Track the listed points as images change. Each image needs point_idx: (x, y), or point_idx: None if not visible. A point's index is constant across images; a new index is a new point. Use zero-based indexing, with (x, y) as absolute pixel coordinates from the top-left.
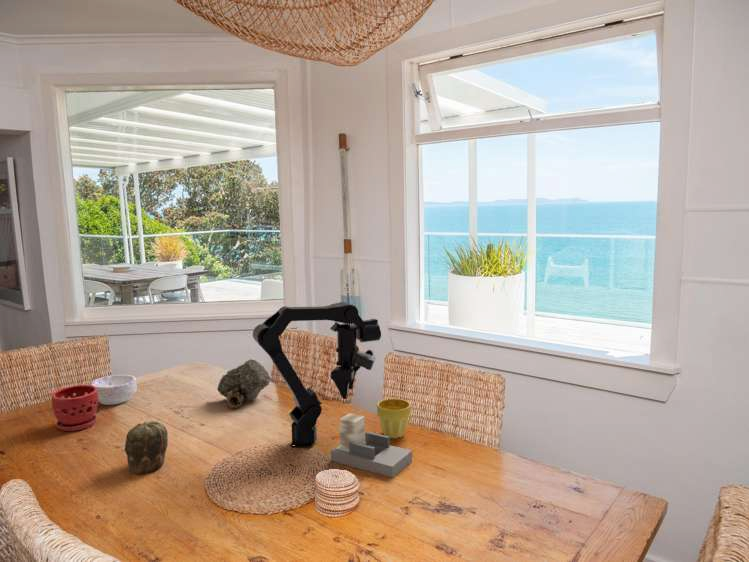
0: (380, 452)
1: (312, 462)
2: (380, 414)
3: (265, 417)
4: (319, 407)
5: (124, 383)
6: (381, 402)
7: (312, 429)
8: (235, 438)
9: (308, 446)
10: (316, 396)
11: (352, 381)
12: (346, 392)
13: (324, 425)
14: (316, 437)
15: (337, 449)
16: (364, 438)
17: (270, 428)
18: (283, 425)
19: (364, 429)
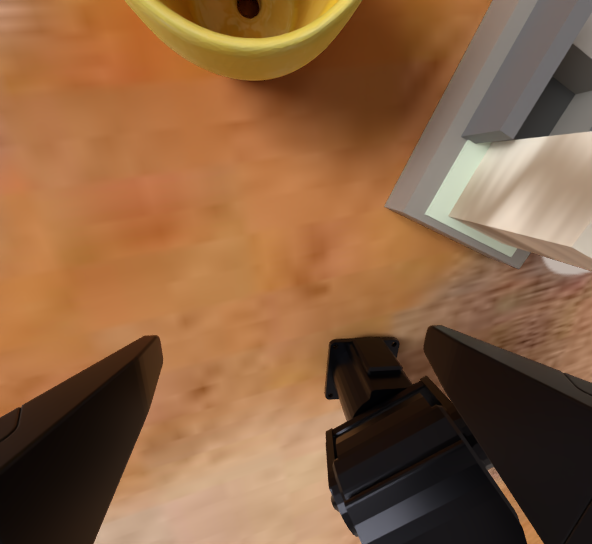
0: (584, 50)
1: (489, 306)
2: (334, 37)
3: (180, 512)
4: (458, 430)
5: None
6: (175, 14)
7: (399, 373)
8: (334, 511)
9: (398, 346)
10: (514, 517)
11: (113, 392)
12: (511, 359)
13: (205, 347)
14: (359, 342)
15: (515, 248)
16: (515, 140)
17: (260, 473)
18: (232, 454)
19: (559, 135)
